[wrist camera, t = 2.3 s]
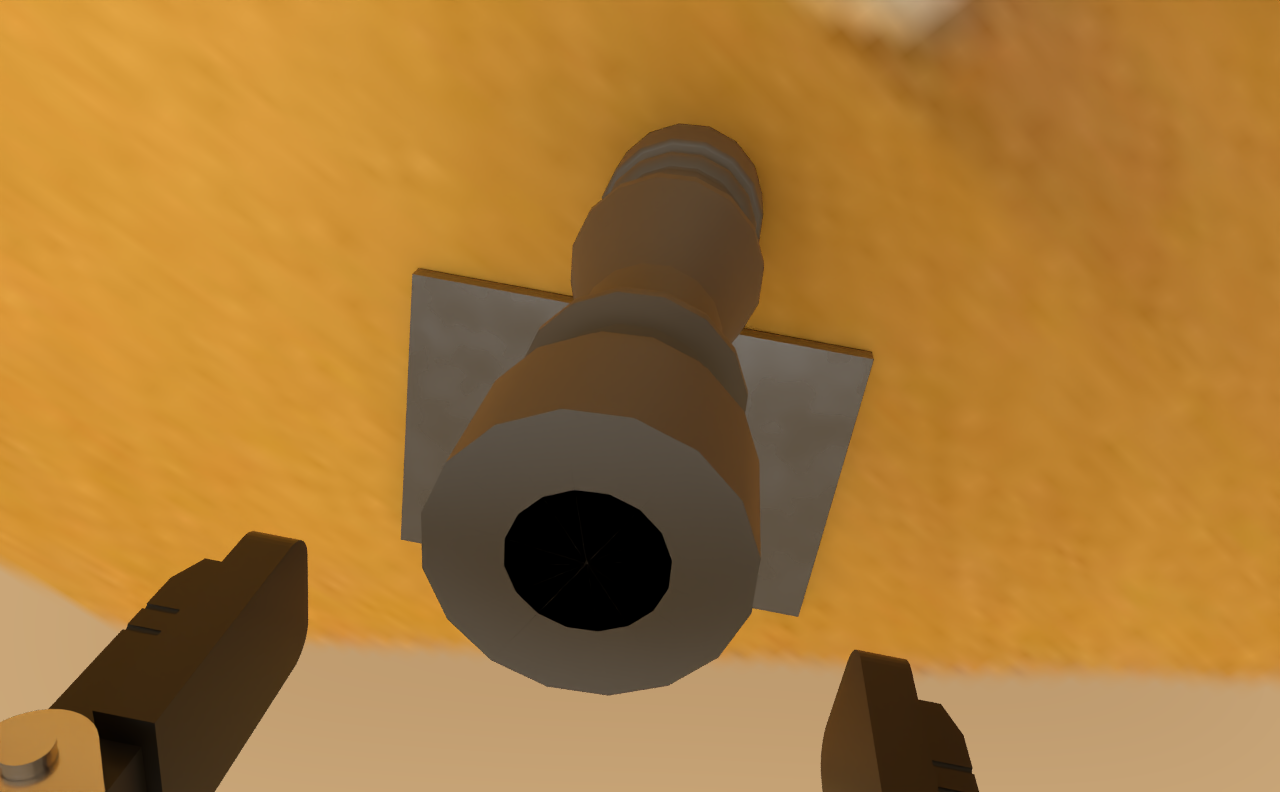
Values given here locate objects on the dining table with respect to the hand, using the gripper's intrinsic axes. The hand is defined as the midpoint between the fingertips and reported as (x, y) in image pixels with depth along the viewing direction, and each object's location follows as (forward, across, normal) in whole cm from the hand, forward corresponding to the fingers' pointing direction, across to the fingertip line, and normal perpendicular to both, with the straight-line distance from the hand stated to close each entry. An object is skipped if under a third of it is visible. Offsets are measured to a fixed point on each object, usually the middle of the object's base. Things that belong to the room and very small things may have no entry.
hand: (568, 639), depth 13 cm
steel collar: (+27, +1, +12) cm, 30 cm away
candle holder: (+27, 0, 0) cm, 27 cm away
